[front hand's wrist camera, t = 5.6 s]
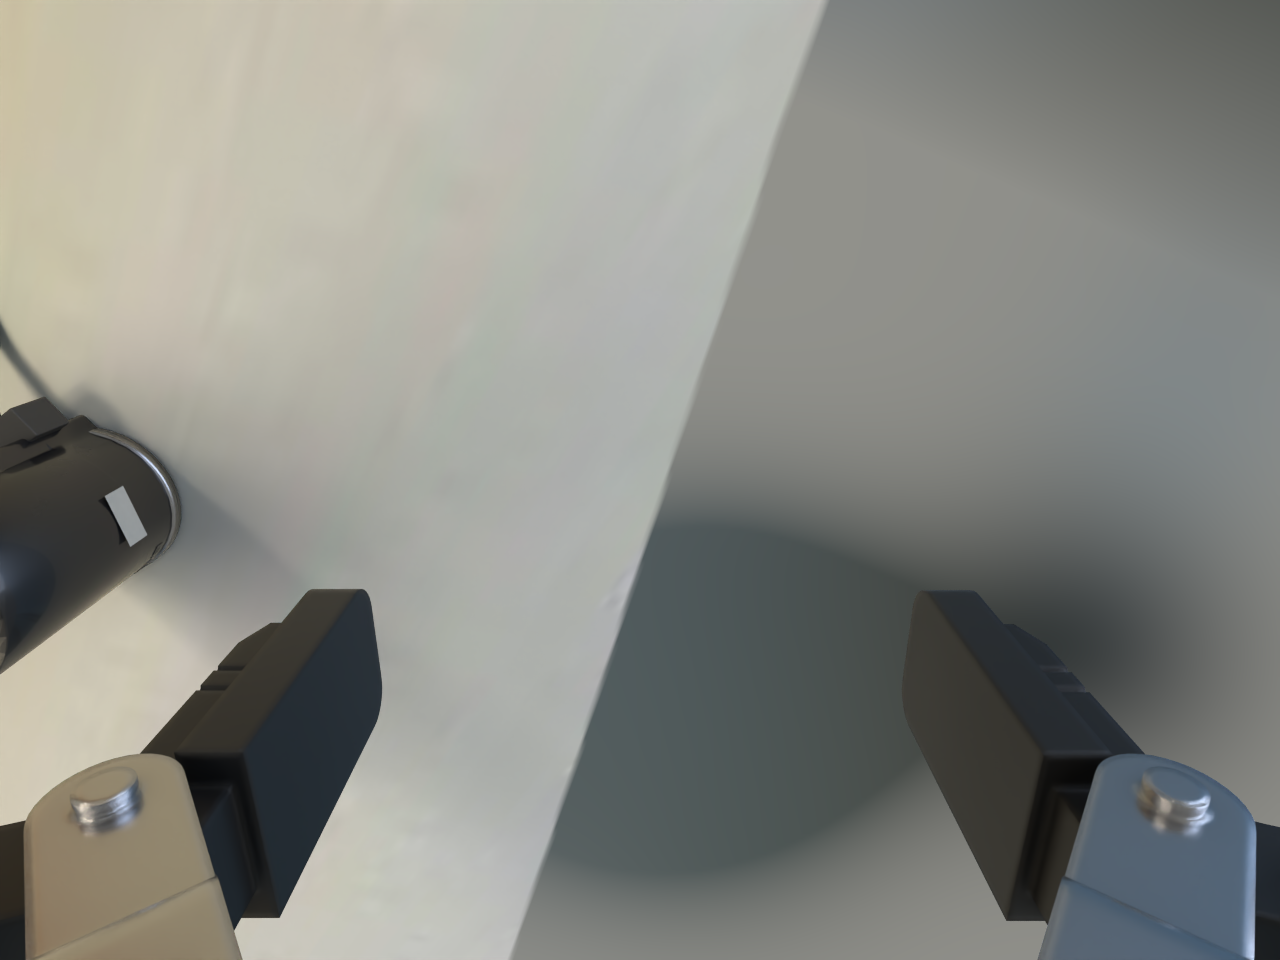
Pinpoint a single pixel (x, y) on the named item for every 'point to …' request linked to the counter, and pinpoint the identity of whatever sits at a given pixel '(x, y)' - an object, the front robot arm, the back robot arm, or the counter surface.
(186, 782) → the front robot arm
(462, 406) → the counter surface
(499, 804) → the counter surface
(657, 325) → the counter surface
